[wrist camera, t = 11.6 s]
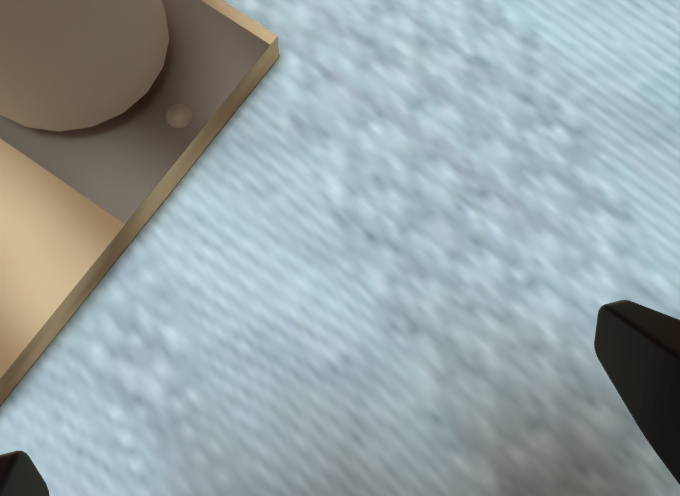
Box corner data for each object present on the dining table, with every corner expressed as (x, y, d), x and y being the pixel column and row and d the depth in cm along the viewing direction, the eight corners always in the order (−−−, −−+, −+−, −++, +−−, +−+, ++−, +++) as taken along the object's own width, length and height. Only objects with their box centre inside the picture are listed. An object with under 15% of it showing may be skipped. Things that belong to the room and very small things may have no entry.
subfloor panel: (-16, 425, 20) (-42, 428, 19) (-269, 238, 21) (-313, 227, 20) (279, 56, 25) (277, 34, 23) (55, -88, 26) (39, -118, 24)
